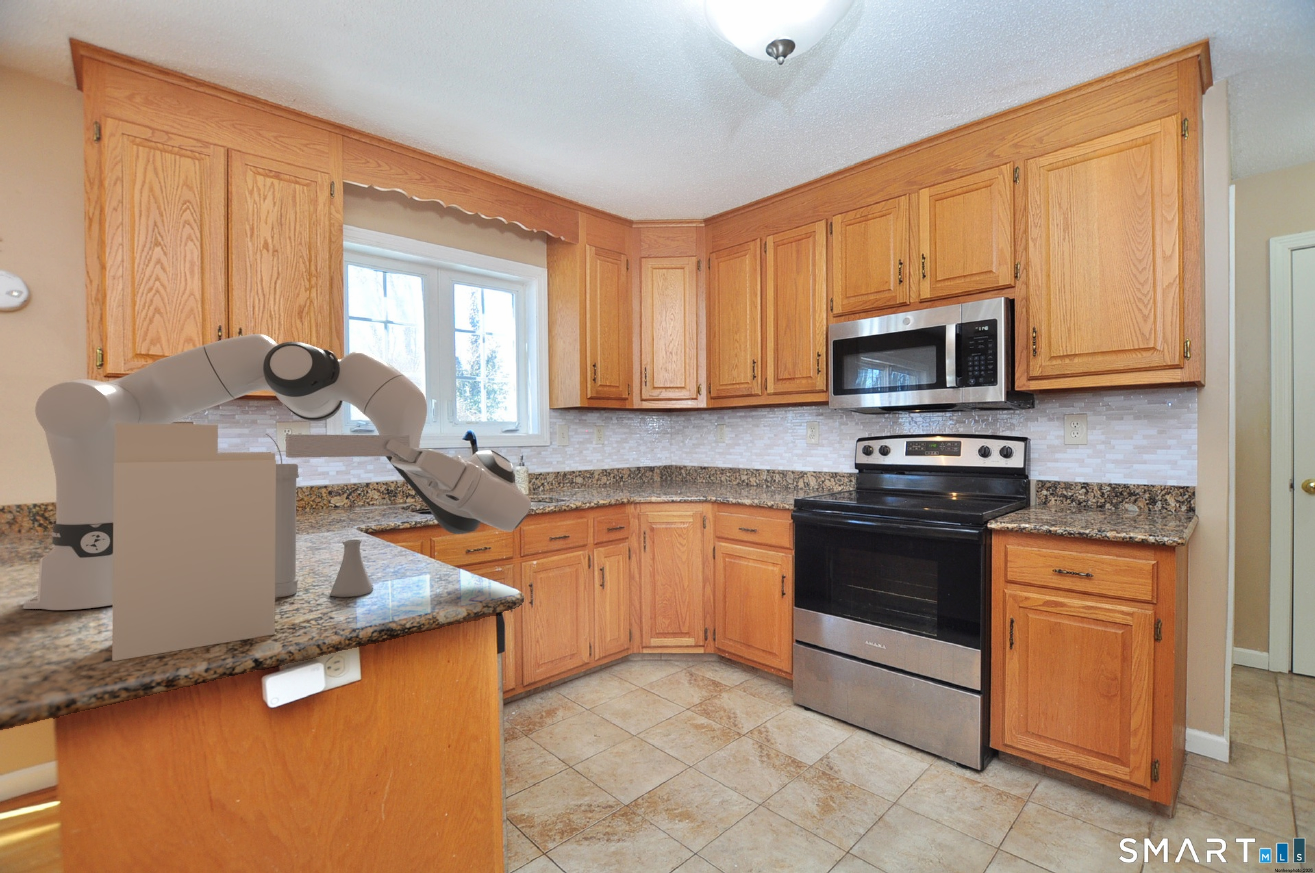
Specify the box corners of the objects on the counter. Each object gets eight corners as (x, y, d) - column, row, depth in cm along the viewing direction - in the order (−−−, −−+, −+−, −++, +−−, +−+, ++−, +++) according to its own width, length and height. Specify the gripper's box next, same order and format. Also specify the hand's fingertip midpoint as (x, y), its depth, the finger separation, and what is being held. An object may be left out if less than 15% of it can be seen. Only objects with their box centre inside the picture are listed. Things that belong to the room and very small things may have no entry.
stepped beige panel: (119, 640, 86) (121, 424, 86) (268, 617, 97) (269, 426, 97) (112, 661, 78) (114, 423, 78) (274, 634, 89) (276, 425, 89)
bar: (285, 456, 96) (285, 434, 96) (403, 455, 107) (403, 435, 107) (288, 457, 93) (288, 434, 93) (409, 455, 104) (409, 435, 104)
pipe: (281, 599, 109) (282, 433, 109) (252, 597, 110) (253, 433, 110) (305, 591, 114) (306, 433, 114) (277, 589, 115) (278, 433, 115)
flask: (361, 598, 109) (361, 544, 109) (321, 598, 109) (322, 543, 110) (380, 588, 117) (380, 537, 117) (343, 588, 117) (343, 537, 117)
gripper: (443, 462, 120) (379, 427, 112) (482, 467, 104) (409, 426, 96) (427, 490, 118) (360, 457, 111) (464, 500, 102) (388, 461, 94)
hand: (383, 442), depth 103 cm, fingers closed on bar, 4 cm apart
